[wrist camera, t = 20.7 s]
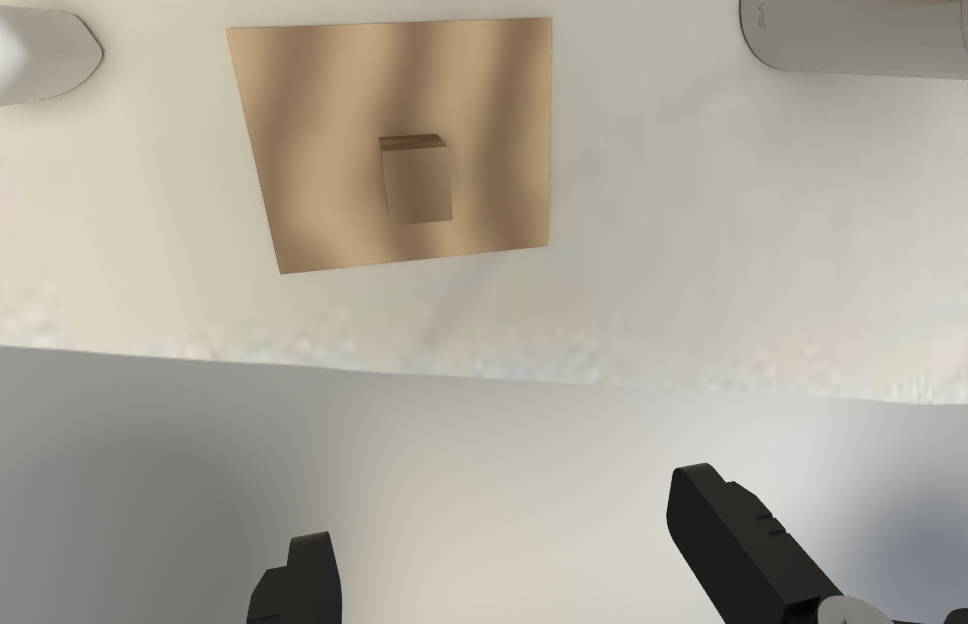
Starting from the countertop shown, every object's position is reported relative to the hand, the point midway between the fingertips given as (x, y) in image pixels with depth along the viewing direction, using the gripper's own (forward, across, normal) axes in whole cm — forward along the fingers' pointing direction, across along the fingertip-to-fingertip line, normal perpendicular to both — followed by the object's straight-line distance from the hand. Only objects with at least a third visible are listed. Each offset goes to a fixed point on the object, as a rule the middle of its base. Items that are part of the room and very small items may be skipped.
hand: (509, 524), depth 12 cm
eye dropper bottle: (+26, +18, -10) cm, 33 cm away
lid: (+27, 0, -4) cm, 27 cm away
